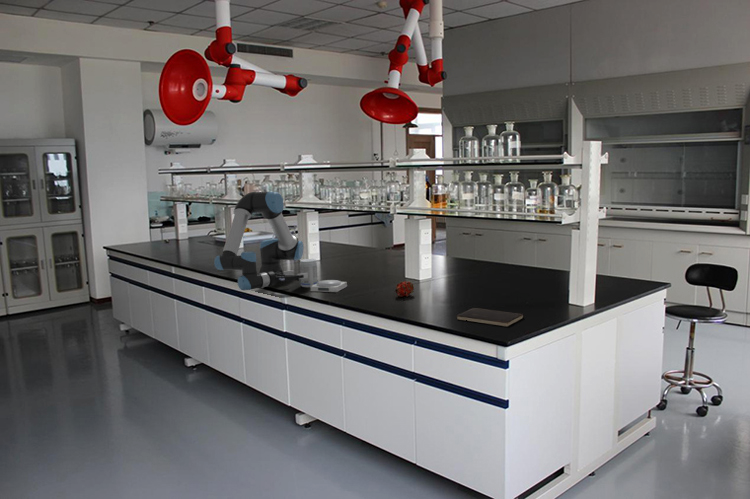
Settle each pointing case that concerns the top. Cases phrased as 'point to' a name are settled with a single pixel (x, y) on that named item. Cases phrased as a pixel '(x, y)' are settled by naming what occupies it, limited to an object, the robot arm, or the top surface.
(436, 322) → the top surface
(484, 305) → the top surface
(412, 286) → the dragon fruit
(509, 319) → the hardcover book
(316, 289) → the scale
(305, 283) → the supplement tub
